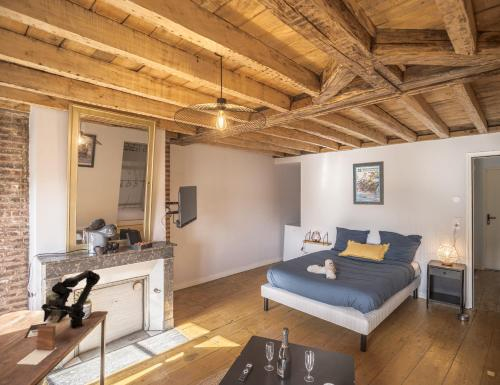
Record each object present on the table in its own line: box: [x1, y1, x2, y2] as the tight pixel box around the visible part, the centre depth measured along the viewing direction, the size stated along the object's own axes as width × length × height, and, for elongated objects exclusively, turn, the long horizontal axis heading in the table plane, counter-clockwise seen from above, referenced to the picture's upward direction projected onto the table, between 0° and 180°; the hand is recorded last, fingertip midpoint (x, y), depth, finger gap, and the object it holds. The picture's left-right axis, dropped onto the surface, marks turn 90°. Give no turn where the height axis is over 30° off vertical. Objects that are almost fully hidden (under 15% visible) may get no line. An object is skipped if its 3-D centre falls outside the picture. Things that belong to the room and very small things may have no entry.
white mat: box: [16, 347, 57, 366], centre depth 163 cm, size 17×11×1 cm, turn 1°
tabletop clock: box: [45, 292, 67, 321], centre depth 209 cm, size 14×9×25 cm, turn 49°
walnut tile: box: [36, 324, 57, 351], centre depth 170 cm, size 2×10×14 cm, turn 91°
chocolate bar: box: [24, 322, 48, 339], centre depth 191 cm, size 9×1×18 cm
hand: (50, 322), depth 177 cm, fingers open, 9 cm apart
